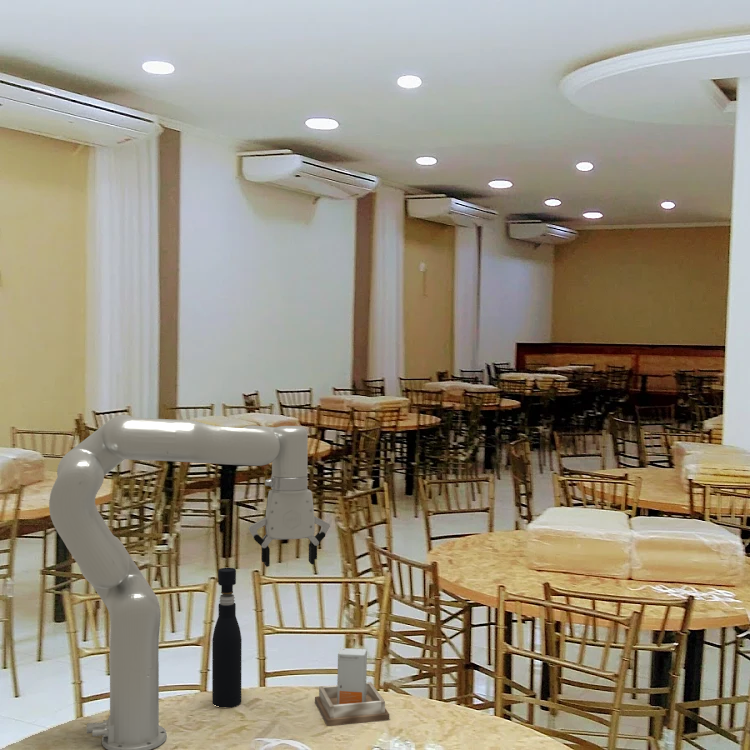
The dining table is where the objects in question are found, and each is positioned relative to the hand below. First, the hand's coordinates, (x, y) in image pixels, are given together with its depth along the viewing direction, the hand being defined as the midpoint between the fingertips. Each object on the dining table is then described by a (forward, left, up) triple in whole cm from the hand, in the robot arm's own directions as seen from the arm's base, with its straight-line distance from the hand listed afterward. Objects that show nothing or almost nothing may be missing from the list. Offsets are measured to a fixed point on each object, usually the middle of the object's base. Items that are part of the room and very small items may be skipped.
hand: (289, 564), depth 199 cm
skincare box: (+14, +1, -32) cm, 35 cm away
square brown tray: (+14, +1, -33) cm, 36 cm away
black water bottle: (-12, +12, -34) cm, 38 cm away
